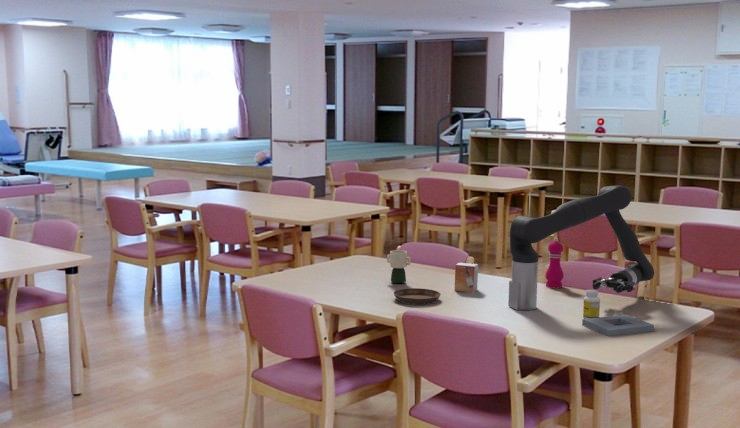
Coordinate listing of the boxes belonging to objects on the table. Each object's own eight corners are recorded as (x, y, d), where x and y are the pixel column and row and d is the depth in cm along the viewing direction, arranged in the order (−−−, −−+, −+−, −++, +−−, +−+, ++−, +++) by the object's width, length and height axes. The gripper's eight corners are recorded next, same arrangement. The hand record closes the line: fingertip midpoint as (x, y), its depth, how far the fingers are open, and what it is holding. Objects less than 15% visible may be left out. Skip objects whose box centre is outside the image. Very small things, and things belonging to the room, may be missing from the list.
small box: (454, 290, 323) (454, 264, 321) (458, 287, 328) (458, 262, 326) (473, 292, 320) (474, 266, 318) (477, 289, 325) (478, 263, 323)
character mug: (414, 282, 336) (414, 251, 334) (405, 286, 330) (406, 254, 328) (391, 279, 342) (391, 248, 340) (382, 282, 336) (382, 251, 334)
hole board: (608, 336, 262) (609, 330, 262) (582, 324, 275) (582, 319, 275) (653, 330, 269) (654, 324, 269) (625, 320, 282) (626, 314, 281)
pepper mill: (563, 288, 328) (565, 239, 325) (545, 287, 329) (546, 238, 326) (562, 285, 335) (564, 236, 332) (544, 284, 336) (546, 235, 333)
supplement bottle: (580, 316, 286) (582, 289, 285) (595, 316, 286) (597, 288, 285) (586, 320, 281) (587, 292, 279) (601, 320, 281) (602, 292, 280)
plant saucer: (409, 293, 320) (409, 285, 319) (449, 299, 309) (449, 291, 309) (384, 301, 305) (384, 293, 305) (424, 309, 295) (424, 300, 295)
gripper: (605, 267, 308) (587, 275, 295) (642, 272, 299) (625, 280, 286) (604, 287, 309) (586, 295, 296) (641, 292, 300) (625, 301, 287)
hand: (605, 288), depth 291 cm, fingers open, 8 cm apart
